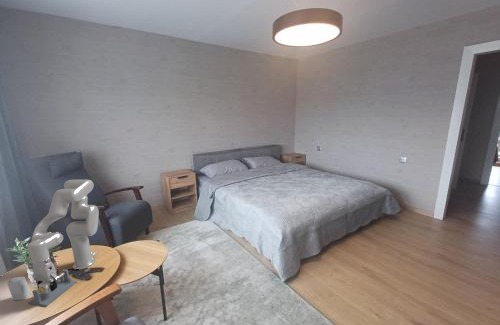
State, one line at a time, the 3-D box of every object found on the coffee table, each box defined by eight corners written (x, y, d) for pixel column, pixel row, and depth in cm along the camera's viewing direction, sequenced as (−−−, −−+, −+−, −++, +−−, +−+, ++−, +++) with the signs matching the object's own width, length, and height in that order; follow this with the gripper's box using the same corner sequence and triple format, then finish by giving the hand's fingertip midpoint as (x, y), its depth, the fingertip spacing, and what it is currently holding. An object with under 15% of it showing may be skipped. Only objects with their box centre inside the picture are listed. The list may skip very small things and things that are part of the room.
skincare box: (30, 293, 130) (26, 275, 127) (23, 300, 125) (18, 281, 123) (19, 294, 129) (14, 276, 126) (12, 301, 125) (6, 282, 122)
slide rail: (60, 280, 140) (57, 268, 138) (76, 282, 138) (74, 270, 136) (28, 303, 123) (25, 290, 121) (46, 306, 121) (43, 293, 119)
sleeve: (49, 285, 130) (47, 278, 129) (55, 285, 129) (54, 279, 128) (40, 291, 125) (38, 284, 124) (46, 292, 124) (45, 285, 123)
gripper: (61, 258, 125) (67, 285, 129) (35, 255, 128) (42, 282, 132) (47, 267, 118) (54, 295, 122) (20, 264, 121) (28, 291, 125)
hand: (48, 288), depth 127 cm, fingers open, 7 cm apart
